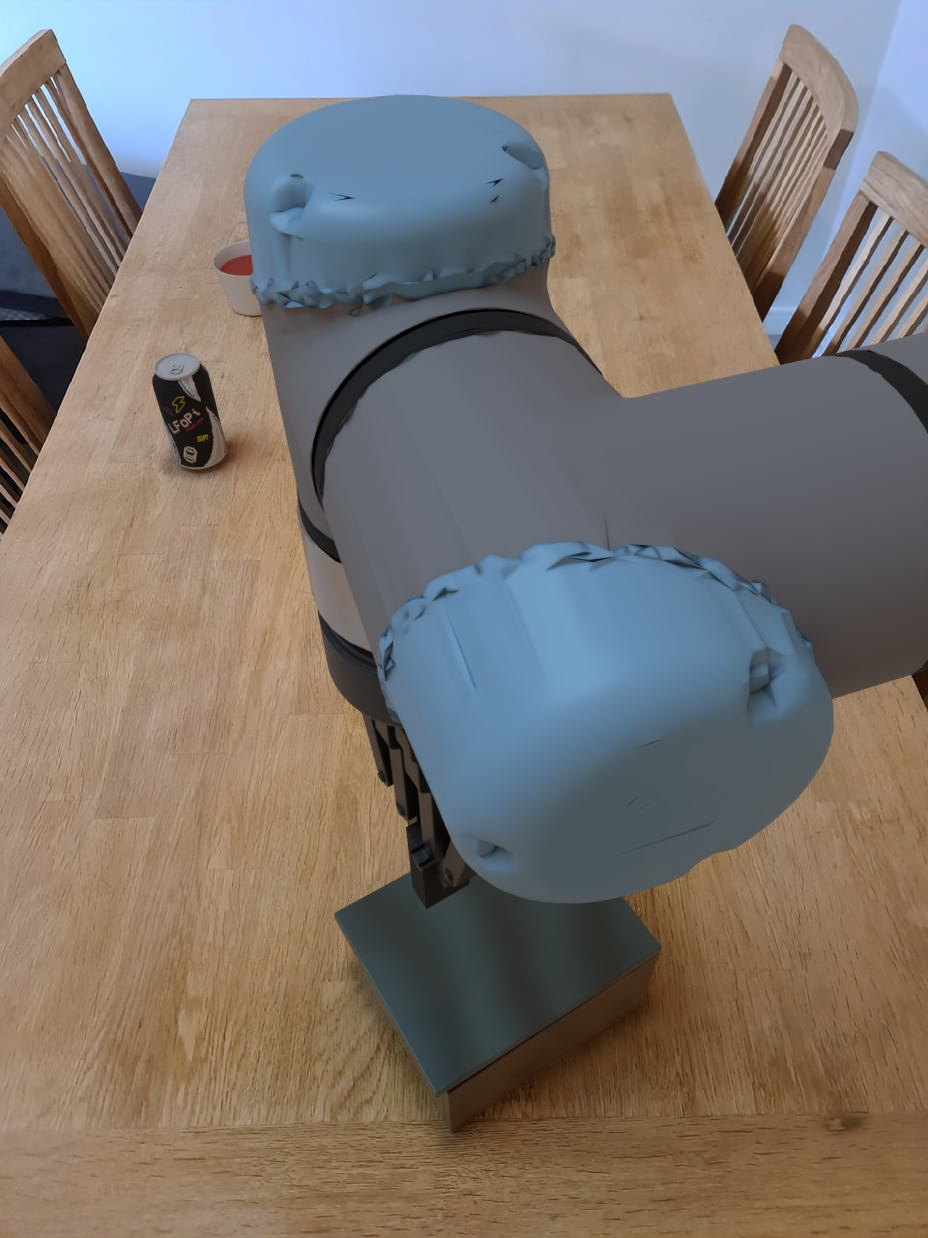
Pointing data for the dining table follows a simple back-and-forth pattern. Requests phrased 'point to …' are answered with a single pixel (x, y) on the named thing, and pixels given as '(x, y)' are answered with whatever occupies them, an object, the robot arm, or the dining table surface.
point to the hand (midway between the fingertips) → (441, 885)
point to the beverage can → (189, 410)
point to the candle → (237, 277)
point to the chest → (535, 1048)
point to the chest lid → (485, 967)
